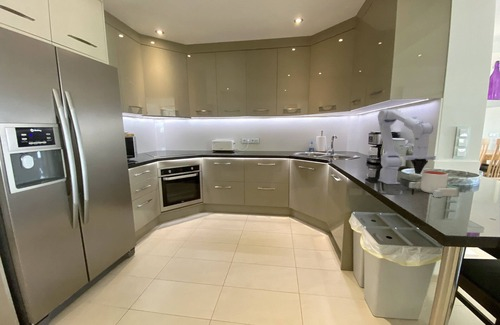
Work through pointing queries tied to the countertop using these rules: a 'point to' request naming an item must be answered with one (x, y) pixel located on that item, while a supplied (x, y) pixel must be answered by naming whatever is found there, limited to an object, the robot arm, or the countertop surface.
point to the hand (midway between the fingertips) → (417, 173)
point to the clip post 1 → (412, 185)
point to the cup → (433, 181)
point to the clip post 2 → (437, 193)
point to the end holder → (444, 190)
